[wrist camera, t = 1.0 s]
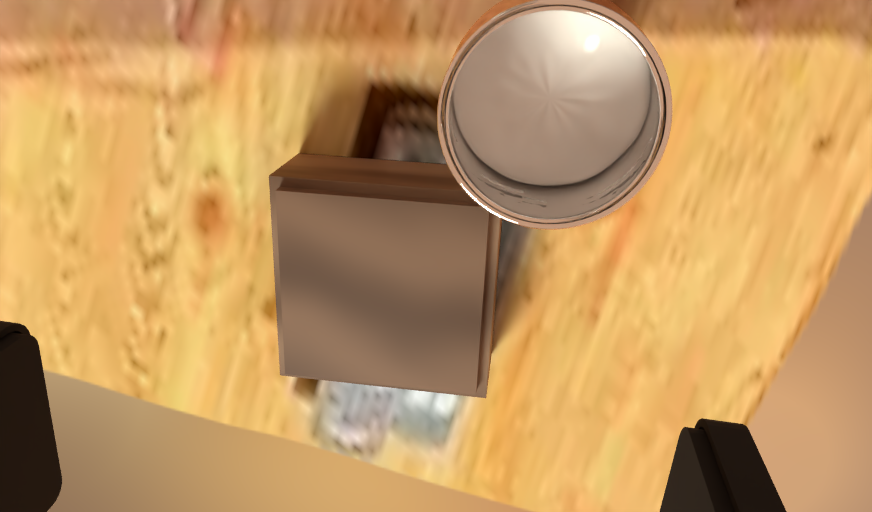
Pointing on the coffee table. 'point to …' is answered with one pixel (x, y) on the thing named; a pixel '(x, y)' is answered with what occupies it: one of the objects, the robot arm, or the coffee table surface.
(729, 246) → the coffee table surface
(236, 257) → the coffee table surface
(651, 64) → the beer glass
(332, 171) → the plinth
